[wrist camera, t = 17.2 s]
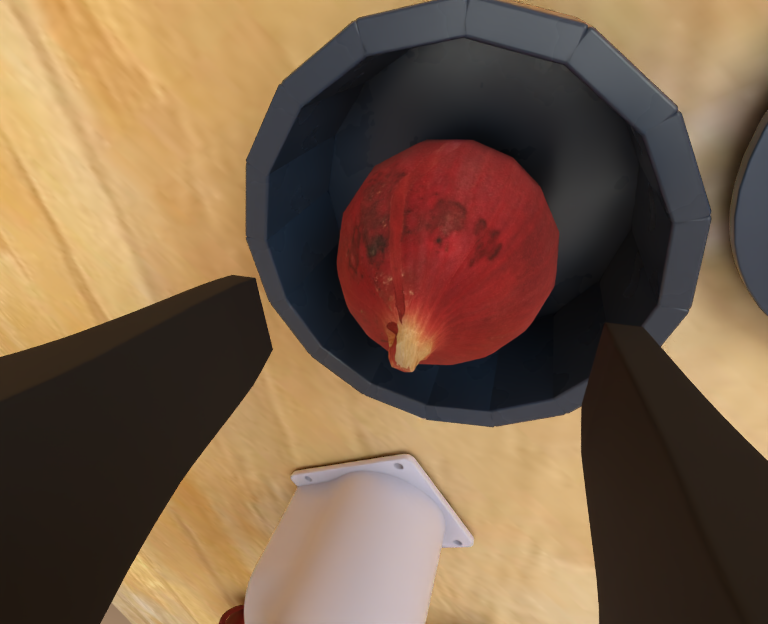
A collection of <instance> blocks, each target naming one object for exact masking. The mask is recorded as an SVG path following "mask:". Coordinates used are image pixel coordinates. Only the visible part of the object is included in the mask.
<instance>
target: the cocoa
mask: <svg viewBox="0 0 768 624" xmlns="http://www.w3.org/2000/svg"><path fill="white" fill-rule="evenodd" d="M226 619H227V620H226ZM219 624H245V622H244V605H239V606H235V607H233V608H231V609H229V610H228V611H226V612H225V613H224V614H223V615H222V617H221V619H220V622H219Z"/></svg>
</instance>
